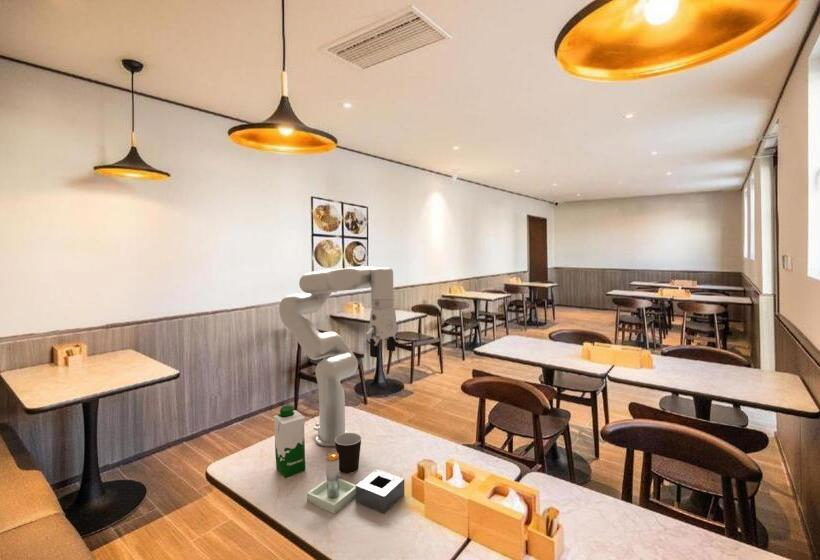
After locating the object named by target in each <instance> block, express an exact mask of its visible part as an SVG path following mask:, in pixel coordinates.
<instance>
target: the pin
mask: <svg viewBox="0 0 820 560" xmlns="http://www.w3.org/2000/svg"><path fill="white" fill-rule="evenodd" d="M339 478H340V471H339V454H338V453H337V452H336V451H331V452H329V453H327V454H326V479H327V497H328V498H330V499H335V498H337V497H339V495H340V490H339Z"/></svg>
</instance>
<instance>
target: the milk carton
mask: <svg viewBox="0 0 820 560" xmlns="http://www.w3.org/2000/svg"><path fill="white" fill-rule="evenodd" d="M279 412H280V413H279V414H276V415H273V422H274V423H273V424H274V445H275V446H274V450H275V452H274V455H275V466H276V470H277V471H278V472H279V473H280V474H281V476H283V478H284V479H287V478H289V477H292V476H295V475H297V474H300V473H302V472H305V471H306V448H305V447H306V444H305V441H306V440H305V424H306V423H305V421H306V417H305V416H304V415H303V414H302V413H300V412H299V411H297V410H296V409H294V408H293V406H290V405H287V406H282V407H281V408H280V409H279Z"/></svg>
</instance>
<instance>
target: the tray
mask: <svg viewBox="0 0 820 560" xmlns="http://www.w3.org/2000/svg"><path fill="white" fill-rule="evenodd" d="M356 485H357V484H355V483H353V482H351V481H350V482H349V481H347V480H345V479H342V478H340V477H339V490H340V495H339V497H337V498H335V499H330V498H328V497H327V478H326V479H325V480H323V481H322V482H321V483H319V484H317V485H316V486H314V488H312V489H310V490H309V491H308V492H306V502H307V503H308V504H309V503H310V504H312V505H314V506H315V507H316V506H317V507H318V508H321V509H322V510H325V511H327V512H329V513H331V514H334V515H335V514H336V513H337V512H339V511H340V510H341V509H342V508H343V507H344V506H346V505H348V503H350V502H351V501H352V500H353V499H354V498H356Z"/></svg>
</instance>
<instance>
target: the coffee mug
mask: <svg viewBox="0 0 820 560" xmlns="http://www.w3.org/2000/svg"><path fill="white" fill-rule="evenodd" d="M361 445H362V436H361V435H360V434H358V433H355V432H348V433H344V434H341V435H339V436H337V437H336V438H335V446H334V447H335V452H337V453H338V454H339V473H342V474H346V475H348V474H354V473H355V472H357V471H358V470H359V463H360V455H361V454H360V453H361Z"/></svg>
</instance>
